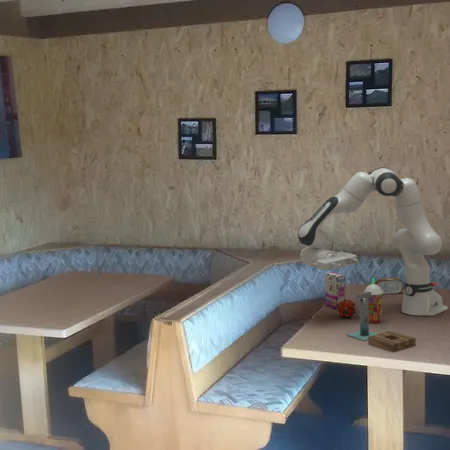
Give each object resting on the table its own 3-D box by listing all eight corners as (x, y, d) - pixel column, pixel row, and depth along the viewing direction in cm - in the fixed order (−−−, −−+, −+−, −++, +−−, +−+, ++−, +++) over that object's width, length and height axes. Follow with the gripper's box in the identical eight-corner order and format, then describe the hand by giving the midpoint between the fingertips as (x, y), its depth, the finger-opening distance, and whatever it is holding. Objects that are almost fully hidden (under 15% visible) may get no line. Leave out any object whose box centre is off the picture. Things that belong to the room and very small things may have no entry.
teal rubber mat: (364, 330, 285) (364, 329, 285) (381, 336, 277) (381, 335, 277) (347, 335, 279) (347, 334, 279) (364, 341, 271) (364, 340, 271)
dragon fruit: (349, 315, 314) (346, 326, 303) (335, 305, 315) (331, 315, 304) (360, 302, 311) (357, 313, 300) (345, 292, 312) (341, 302, 301)
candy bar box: (346, 308, 321) (345, 275, 319) (337, 310, 319) (336, 276, 317) (333, 303, 331) (333, 271, 329) (325, 305, 329) (324, 272, 327)
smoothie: (360, 322, 298) (360, 278, 295) (370, 318, 304) (369, 275, 301) (377, 325, 292) (376, 281, 289) (386, 321, 298) (386, 277, 295)
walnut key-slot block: (390, 337, 275) (390, 330, 274) (415, 345, 264) (415, 337, 263) (368, 344, 267) (368, 336, 267) (393, 352, 257) (393, 344, 256)
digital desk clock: (402, 292, 348) (402, 276, 347) (404, 294, 345) (404, 278, 344) (374, 294, 347) (374, 278, 346) (375, 295, 344) (375, 279, 343)
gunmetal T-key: (367, 332, 281) (366, 291, 279) (373, 334, 278) (372, 292, 276) (355, 335, 278) (354, 293, 275) (361, 337, 275) (360, 295, 272)
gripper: (310, 257, 295) (331, 261, 284) (343, 249, 306) (365, 253, 295) (310, 271, 296) (332, 275, 284) (344, 263, 307) (366, 267, 296)
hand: (349, 264), depth 290 cm, fingers open, 8 cm apart
